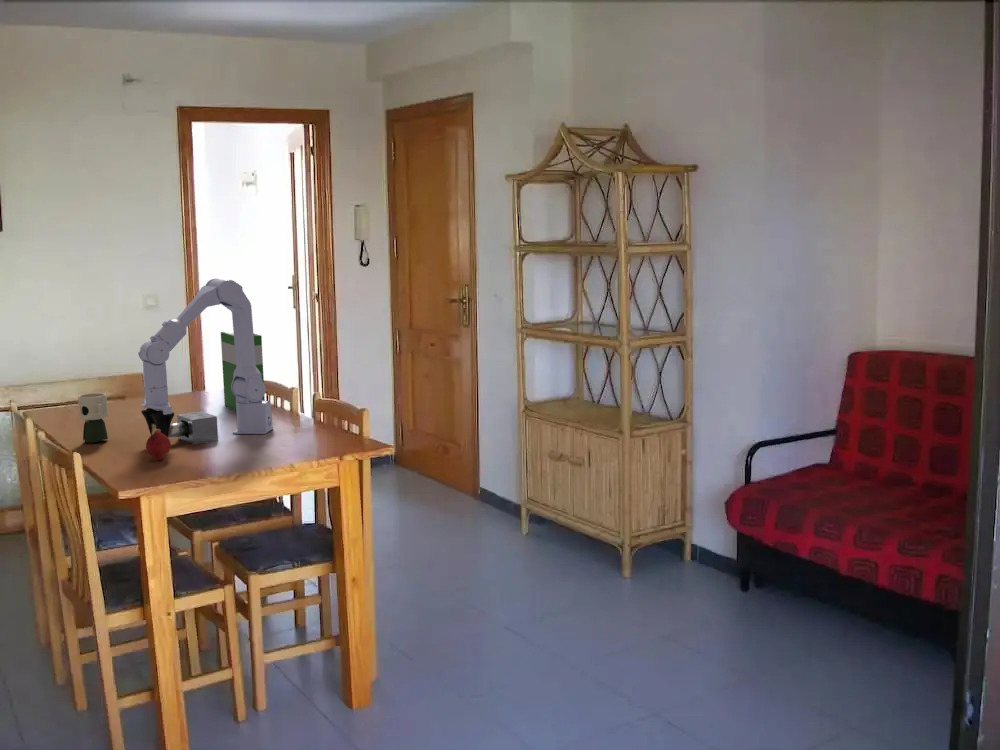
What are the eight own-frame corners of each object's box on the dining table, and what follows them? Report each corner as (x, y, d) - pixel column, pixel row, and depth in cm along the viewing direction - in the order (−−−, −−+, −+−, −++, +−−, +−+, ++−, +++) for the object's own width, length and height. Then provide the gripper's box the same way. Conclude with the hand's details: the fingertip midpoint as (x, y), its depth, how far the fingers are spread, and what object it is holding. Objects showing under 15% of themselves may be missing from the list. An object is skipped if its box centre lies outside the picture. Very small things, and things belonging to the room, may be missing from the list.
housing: (202, 435, 274) (201, 411, 273) (218, 440, 266) (216, 416, 265) (178, 438, 269) (176, 414, 268) (193, 444, 262) (192, 420, 261)
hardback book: (224, 405, 318) (220, 332, 314) (247, 402, 322) (243, 330, 318) (242, 414, 303) (238, 337, 299) (265, 411, 307) (261, 335, 303)
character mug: (75, 440, 268) (71, 394, 266) (101, 436, 273) (97, 391, 271) (90, 447, 260) (86, 399, 258) (116, 443, 265) (113, 395, 263)
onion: (157, 464, 241) (155, 432, 240) (142, 461, 244) (139, 430, 243) (176, 459, 246) (174, 428, 245) (161, 456, 249) (159, 425, 248)
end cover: (182, 436, 267) (181, 418, 266) (189, 438, 264) (188, 421, 263) (151, 440, 262) (150, 423, 261) (158, 443, 258) (157, 425, 258)
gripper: (130, 385, 261) (134, 434, 263) (151, 392, 250) (154, 443, 253) (156, 382, 266) (159, 431, 268) (178, 388, 255) (181, 439, 257)
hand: (159, 437), depth 261 cm, fingers closed on end cover, 5 cm apart
